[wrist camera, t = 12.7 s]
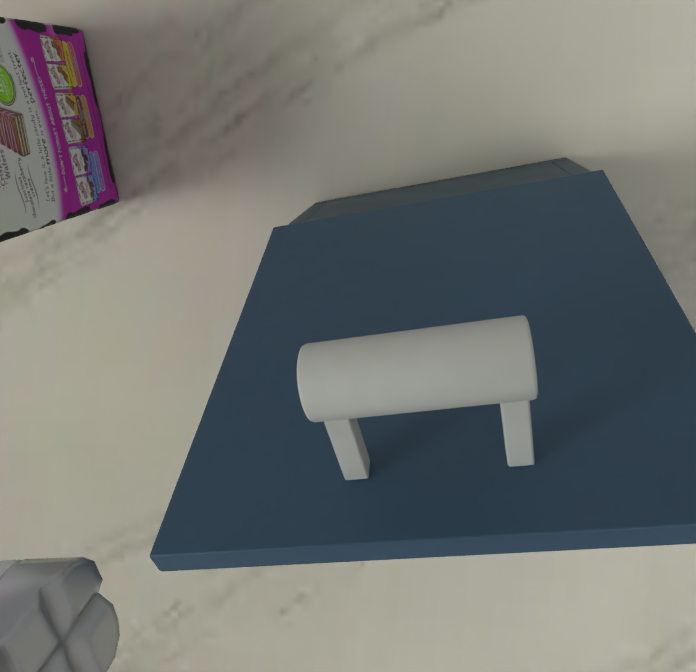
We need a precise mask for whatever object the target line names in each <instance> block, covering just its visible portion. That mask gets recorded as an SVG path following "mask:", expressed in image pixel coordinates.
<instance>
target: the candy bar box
mask: <svg viewBox="0 0 696 672" xmlns="http://www.w3.org/2000/svg"><path fill="white" fill-rule="evenodd" d="M117 202H118V194H117V190H116V186H115V181H114V176H113V172H112V168H111V163H110V159H109V155H108V150H107V146H106V141H105V137H104V132H103V128H102V124H101V119H100V115H99V110H98V105H97V101H96V96H95V91H94V87H93V82H92V77H91V73H90V68H89V64H88V59H87V54H86V50H85V45H84V40H83V36H82V31H81V30H80V29H77V28H71V27H65V26H58V25H51V24H46V23H38V22H31V21H26V20H18V19H12V18H5V17H0V242H2V241H5V240H8V239H11V238H14V237H17V236H20V235H23V234H26V233H28V232H31V231H34V230H38V229H41V228H44V227H46V226H49V225H52V224H55V223H58V222H61V221H64V220H67V219H70V218H73V217H76V216H79V215H82V214H85V213H88V212H90V211H93V210H96V209H100V208H103V207H106V206H109V205H112V204H115V203H117Z"/></svg>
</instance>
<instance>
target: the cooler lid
mask: <svg viewBox="0 0 696 672" xmlns="http://www.w3.org/2000/svg"><path fill="white" fill-rule="evenodd" d="M694 543H696V333H695V331H694V330H693V328H692V326H691V324H690V323H689V321H688V319H687V317H686V316H685V314H684V312H683V310H682V308H681V307H680V305H679V303H678V301H677V300H676V298H675V296H674V294H673V293H672V291H671V289H670V287H669V286H668V284H667V282H666V280H665V279H664V277H663V275H662V273H661V271H660V270H659V268H658V266H657V264H656V263H655V261H654V259H653V257H652V256H651V254H650V252H649V250H648V249H647V247H646V245H645V243H644V242H643V240H642V238H641V236H640V235H639V233H638V231H637V229H636V227H635V226H634V224H633V222H632V220H631V219H630V217H629V215H628V213H627V212H626V210H625V208H624V206H623V205H622V203H621V201H620V199H619V198H618V196H617V194H616V192H615V190H614V189H613V187H612V185H611V183H610V182H609V180H608V178H607V176H606V175H605V173H604V171H603V170H599V171H594V172H588V173H582V174H577V175H571V176H565V177H560V178H554V179H548V180H542V181H537V182H531V183H525V184H520V185H514V186H508V187H503V188H497V189H491V190H485V191H480V192H474V193H468V194H463V195H457V196H451V197H446V198H440V199H434V200H428V201H423V202H417V203H411V204H406V205H400V206H394V207H388V208H383V209H377V210H371V211H366V212H360V213H354V214H349V215H343V216H337V217H331V218H326V219H320V220H314V221H309V222H303V223H297V224H292V225H286V226H280V227H275V228H273V231H272V234H271V236H270V239H269V242H268V244H267V247H266V249H265V252H264V255H263V257H262V260H261V263H260V265H259V268H258V271H257V273H256V276H255V279H254V281H253V284H252V286H251V289H250V292H249V294H248V297H247V300H246V302H245V305H244V308H243V310H242V313H241V316H240V318H239V321H238V323H237V326H236V329H235V331H234V334H233V337H232V339H231V342H230V345H229V347H228V350H227V352H226V355H225V358H224V360H223V363H222V366H221V368H220V371H219V374H218V376H217V379H216V382H215V384H214V387H213V389H212V392H211V395H210V397H209V400H208V403H207V405H206V408H205V411H204V413H203V416H202V419H201V421H200V424H199V426H198V429H197V432H196V434H195V437H194V440H193V442H192V445H191V448H190V450H189V453H188V456H187V458H186V461H185V463H184V466H183V469H182V471H181V474H180V477H179V479H178V482H177V485H176V487H175V490H174V492H173V495H172V498H171V500H170V503H169V506H168V508H167V511H166V514H165V516H164V519H163V522H162V524H161V527H160V529H159V532H158V535H157V537H156V540H155V543H154V545H153V548H152V551H151V553H150V558H151V559H152V561H153V562H154V563H155V565H156V566H157V567H158V569H159V570H160V571H178V570H197V569H216V568H235V567H254V566H273V565H292V564H312V563H331V562H350V561H369V560H388V559H407V558H426V557H446V556H465V555H484V554H503V553H522V552H541V551H560V550H580V549H599V548H618V547H637V546H656V545H675V544H694Z"/></svg>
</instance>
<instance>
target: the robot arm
mask: <svg viewBox="0 0 696 672" xmlns="http://www.w3.org/2000/svg"><path fill="white" fill-rule="evenodd" d="M102 580H103V579H102V577H101V575H100V573H99V571H98V569H97V567H96V564H95V562H94V561H92V560H89V559H86V558H84V557H73V558H45V559H24V560H4V561H0V672H107V670H108V669H109V667H110V665H111V663H112V662H113V660H114V658H115V654H116V650H117V645H118V641H119V636H120V634H119V623H118V617H117V615H116V612H115V609H114V607H113V605H112V604H111V603H110V602H109V601H108V600H106V599H105V598H104V597H103V596H102V595H101V594H99V593H98V592H99V589H100V586H101V583H102Z"/></svg>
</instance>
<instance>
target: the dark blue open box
mask: <svg viewBox="0 0 696 672" xmlns="http://www.w3.org/2000/svg"><path fill="white" fill-rule="evenodd" d="M588 172H591V171H589V170H587V169H586V168H584V167H582V166H580V165H578V164H576V163H575V162H573V161H571V160H569V159H567V158H560V159H554V160H549V161H543V162H538V163H532V164H527V165H521V166H516V167H510V168H505V169H499V170H494V171H488V172H483V173H477V174H472V175H466V176H461V177H455V178H450V179H444V180H439V181H433V182H428V183H422V184H417V185H411V186H406V187H400V188H395V189H389V190H384V191H378V192H373V193H367V194H362V195H356V196H351V197H345V198H340V199H334V200H329V201H323V202H318V203H315V204H314V205H312V206H311V207H310V208H309V209H307V210H306V211H305V212H304V213H302V214H301V215H300V216H299V217H297V218H296V219H295V220H294V221H292V222H291V223H290V224H289V225H292V224H297V223H303V222H309V221H314V220H320V219H326V218H331V217H337V216H343V215H349V214H354V213H360V212H366V211H371V210H377V209H383V208H388V207H394V206H400V205H406V204H411V203H417V202H423V201H428V200H434V199H440V198H446V197H451V196H457V195H463V194H468V193H474V192H480V191H485V190H491V189H497V188H503V187H508V186H514V185H520V184H525V183H531V182H537V181H542V180H548V179H554V178H560V177H565V176H571V175H577V174H582V173H588Z"/></svg>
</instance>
